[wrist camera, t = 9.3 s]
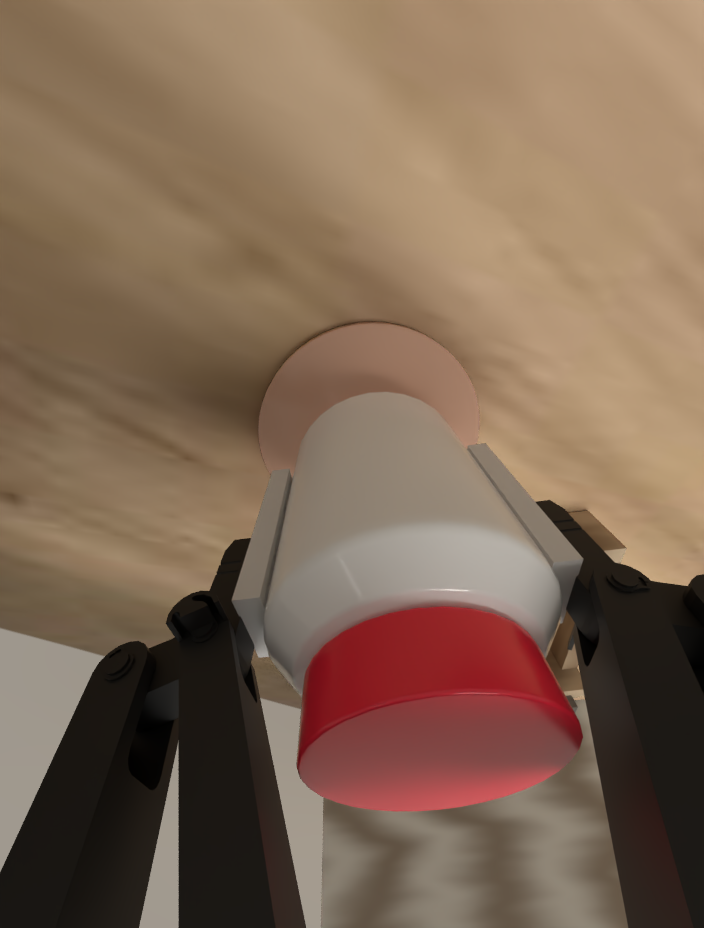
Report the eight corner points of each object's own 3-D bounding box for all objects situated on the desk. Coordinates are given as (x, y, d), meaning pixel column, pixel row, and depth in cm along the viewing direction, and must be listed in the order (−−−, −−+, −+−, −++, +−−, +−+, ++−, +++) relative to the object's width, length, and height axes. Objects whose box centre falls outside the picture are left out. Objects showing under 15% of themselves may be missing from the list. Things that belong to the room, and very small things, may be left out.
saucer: (288, 528, 22) (286, 536, 21) (232, 340, 16) (227, 343, 15) (468, 504, 22) (472, 512, 21) (482, 304, 16) (489, 306, 15)
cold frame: (327, 667, 31) (321, 1024, 16) (291, 547, 23) (216, 1034, 8) (547, 642, 31) (742, 986, 16) (587, 510, 23) (1052, 958, 8)
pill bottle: (314, 539, 18) (289, 840, 9) (277, 405, 14) (157, 688, 5) (457, 520, 18) (595, 809, 8) (460, 378, 14) (732, 618, 4)
